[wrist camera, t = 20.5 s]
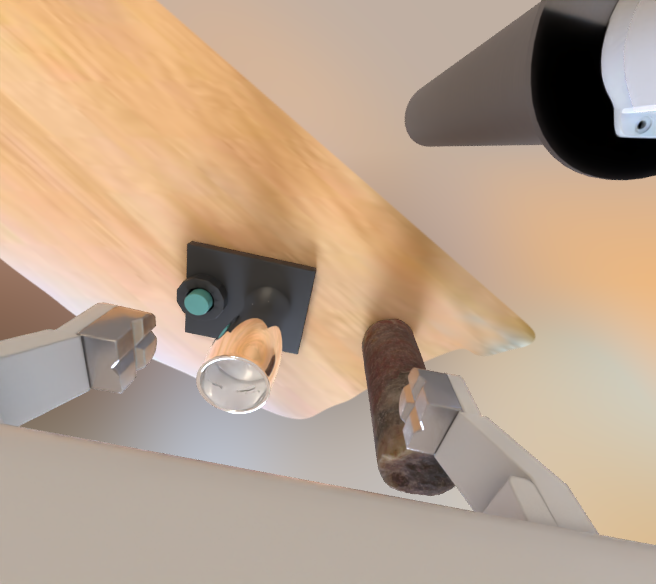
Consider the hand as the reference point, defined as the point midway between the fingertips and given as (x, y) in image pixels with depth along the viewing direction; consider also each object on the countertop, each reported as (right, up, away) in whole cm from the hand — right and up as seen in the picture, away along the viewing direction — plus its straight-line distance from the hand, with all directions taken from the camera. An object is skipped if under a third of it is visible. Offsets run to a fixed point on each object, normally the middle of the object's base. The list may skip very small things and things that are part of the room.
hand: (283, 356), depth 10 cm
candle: (+10, -5, +34) cm, 36 cm away
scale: (-9, +1, +32) cm, 34 cm away
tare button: (-15, +1, +29) cm, 33 cm away
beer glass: (-7, 0, +31) cm, 32 cm away
